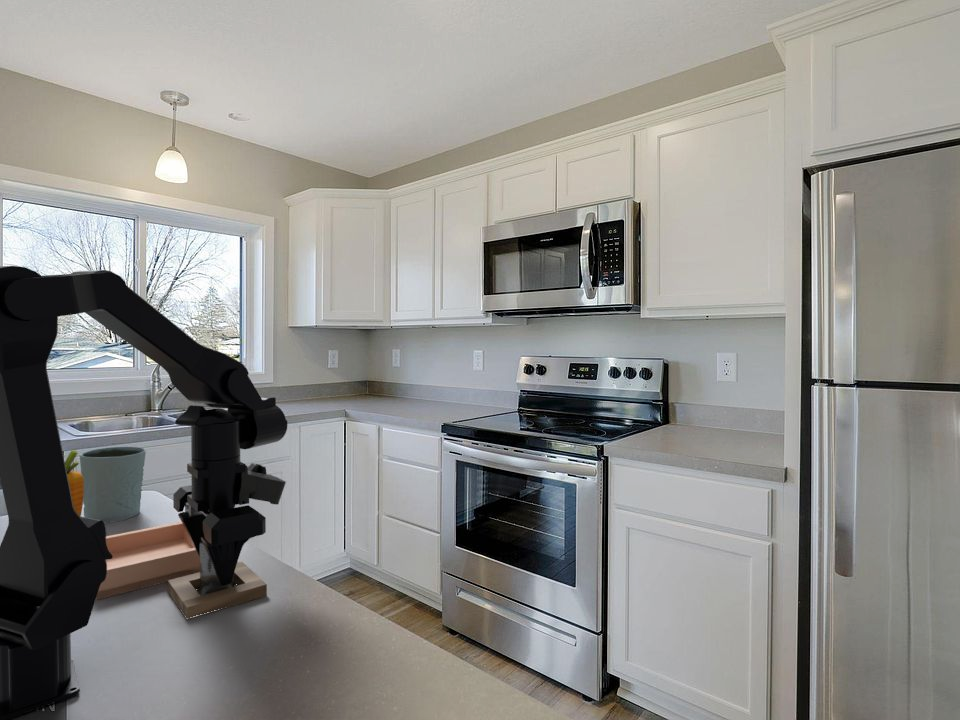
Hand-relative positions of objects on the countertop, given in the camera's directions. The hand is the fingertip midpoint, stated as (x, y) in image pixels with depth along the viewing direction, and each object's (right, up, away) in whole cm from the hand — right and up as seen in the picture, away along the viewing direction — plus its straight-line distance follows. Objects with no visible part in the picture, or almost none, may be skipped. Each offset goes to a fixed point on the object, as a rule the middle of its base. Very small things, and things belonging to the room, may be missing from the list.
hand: (216, 574), depth 71 cm
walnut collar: (0, -3, 0) cm, 2 cm away
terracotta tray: (-14, -2, +8) cm, 16 cm away
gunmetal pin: (0, -3, 0) cm, 2 cm away
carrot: (-32, -2, +17) cm, 37 cm away
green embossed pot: (-34, -1, +30) cm, 45 cm away
